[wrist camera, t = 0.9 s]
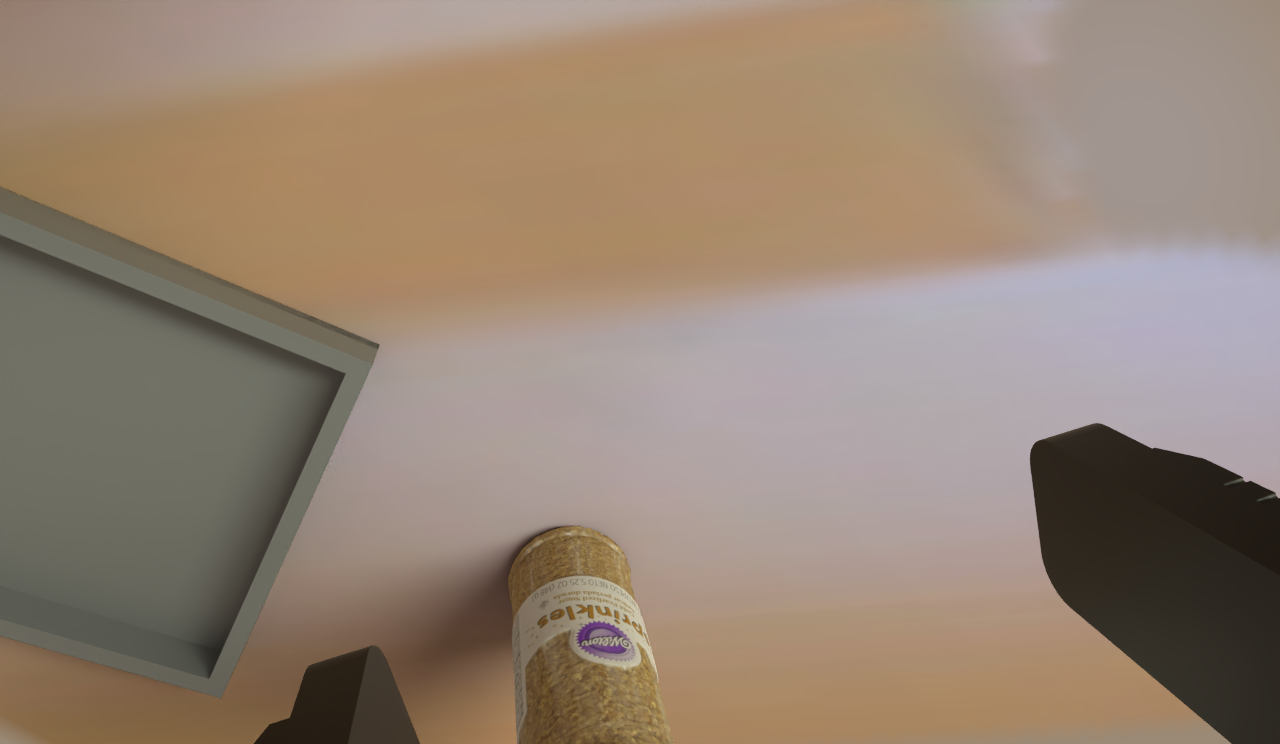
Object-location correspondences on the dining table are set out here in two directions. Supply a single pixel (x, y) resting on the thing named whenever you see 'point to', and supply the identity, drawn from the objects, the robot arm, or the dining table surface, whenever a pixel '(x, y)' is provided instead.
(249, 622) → the condiment tray
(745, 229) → the dining table surface
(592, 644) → the sprinkles bottle
